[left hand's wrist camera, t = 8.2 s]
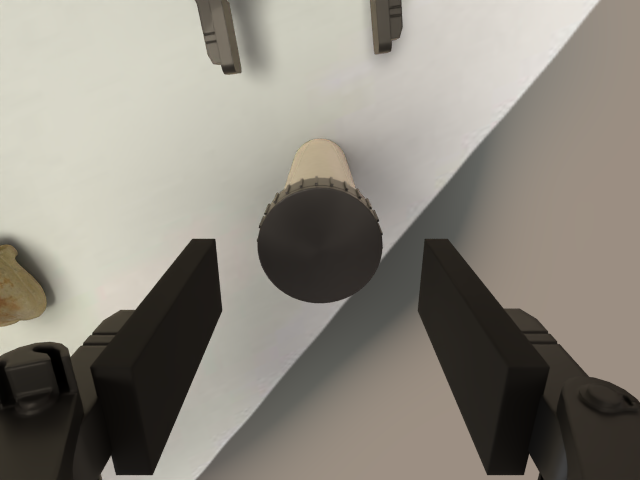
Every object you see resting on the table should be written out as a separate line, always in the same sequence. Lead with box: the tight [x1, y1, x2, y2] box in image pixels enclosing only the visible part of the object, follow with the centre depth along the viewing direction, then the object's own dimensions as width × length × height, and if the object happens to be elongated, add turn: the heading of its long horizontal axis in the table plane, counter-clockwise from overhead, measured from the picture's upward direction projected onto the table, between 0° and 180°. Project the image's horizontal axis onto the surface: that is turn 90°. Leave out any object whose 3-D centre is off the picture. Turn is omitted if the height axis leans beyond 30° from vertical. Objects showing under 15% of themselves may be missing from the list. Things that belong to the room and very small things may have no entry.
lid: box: [257, 176, 383, 303], centre depth 17 cm, size 5×5×2 cm
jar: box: [284, 139, 356, 189], centre depth 24 cm, size 4×4×16 cm
